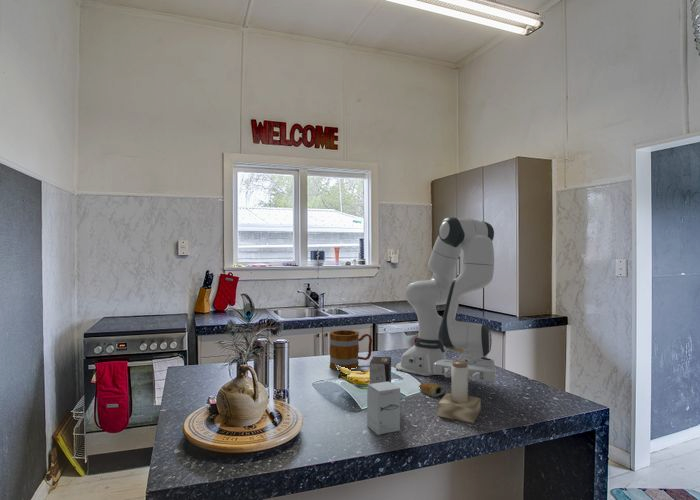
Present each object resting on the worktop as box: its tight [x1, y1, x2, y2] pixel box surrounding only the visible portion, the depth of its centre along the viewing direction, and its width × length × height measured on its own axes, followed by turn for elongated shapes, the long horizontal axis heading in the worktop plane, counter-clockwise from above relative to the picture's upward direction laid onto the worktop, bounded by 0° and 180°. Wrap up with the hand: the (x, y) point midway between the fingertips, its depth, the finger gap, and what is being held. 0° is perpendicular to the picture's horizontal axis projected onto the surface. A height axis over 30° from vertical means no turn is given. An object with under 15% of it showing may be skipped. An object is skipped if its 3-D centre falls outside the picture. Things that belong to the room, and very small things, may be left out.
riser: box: [437, 392, 482, 424], centre depth 137 cm, size 11×11×4 cm
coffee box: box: [369, 356, 392, 384], centre depth 141 cm, size 9×6×16 cm
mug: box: [329, 329, 373, 371], centre depth 191 cm, size 20×14×15 cm
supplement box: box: [366, 382, 401, 436], centre depth 125 cm, size 7×7×13 cm
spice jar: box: [450, 360, 469, 403], centre depth 137 cm, size 5×5×12 cm
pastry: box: [418, 382, 445, 398], centre depth 156 cm, size 9×7×4 cm
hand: (459, 376), depth 136 cm, fingers open, 6 cm apart
